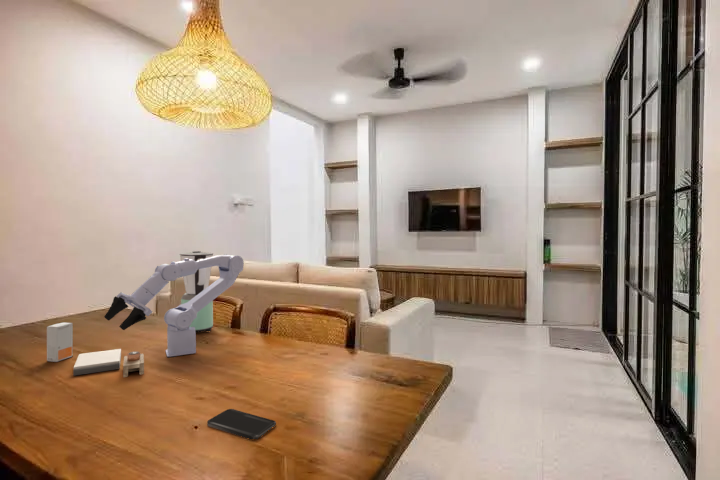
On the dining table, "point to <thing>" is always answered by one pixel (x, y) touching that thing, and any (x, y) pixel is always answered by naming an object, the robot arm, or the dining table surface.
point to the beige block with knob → (133, 365)
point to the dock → (97, 362)
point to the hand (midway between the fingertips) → (113, 323)
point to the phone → (241, 423)
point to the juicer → (198, 291)
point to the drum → (133, 356)
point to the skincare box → (59, 341)
